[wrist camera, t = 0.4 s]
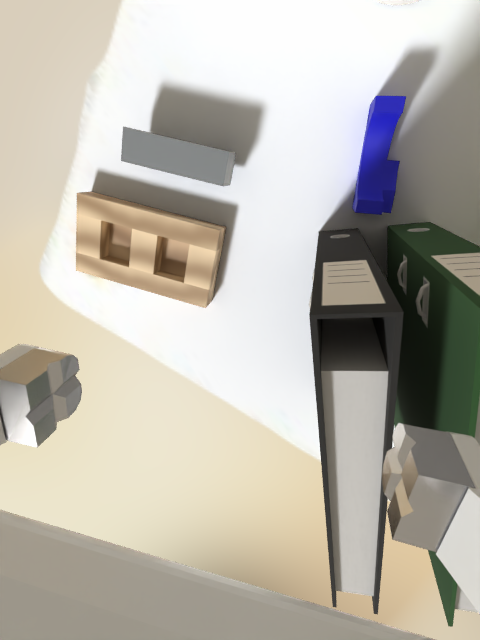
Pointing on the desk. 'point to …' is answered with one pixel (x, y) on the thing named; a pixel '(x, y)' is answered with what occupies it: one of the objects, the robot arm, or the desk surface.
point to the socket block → (148, 248)
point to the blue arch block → (378, 158)
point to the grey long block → (177, 156)
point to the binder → (389, 379)
